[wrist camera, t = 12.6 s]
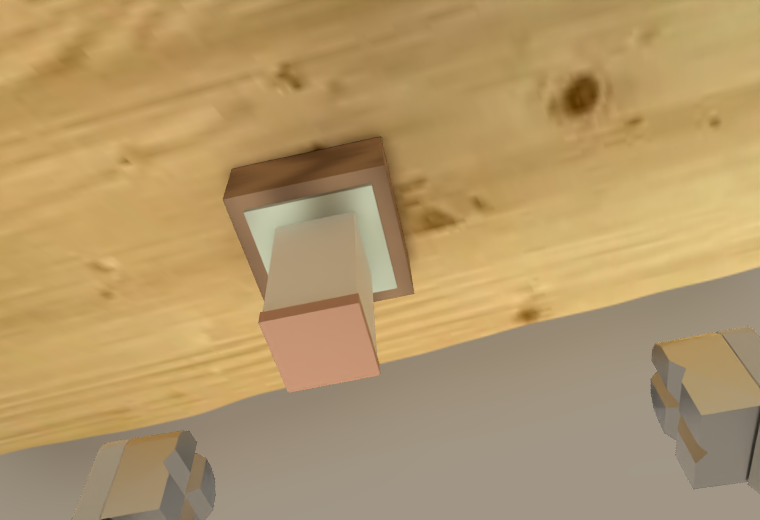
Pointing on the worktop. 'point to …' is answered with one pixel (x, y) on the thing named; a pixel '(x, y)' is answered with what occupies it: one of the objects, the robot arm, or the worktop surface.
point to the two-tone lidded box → (320, 304)
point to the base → (322, 207)
